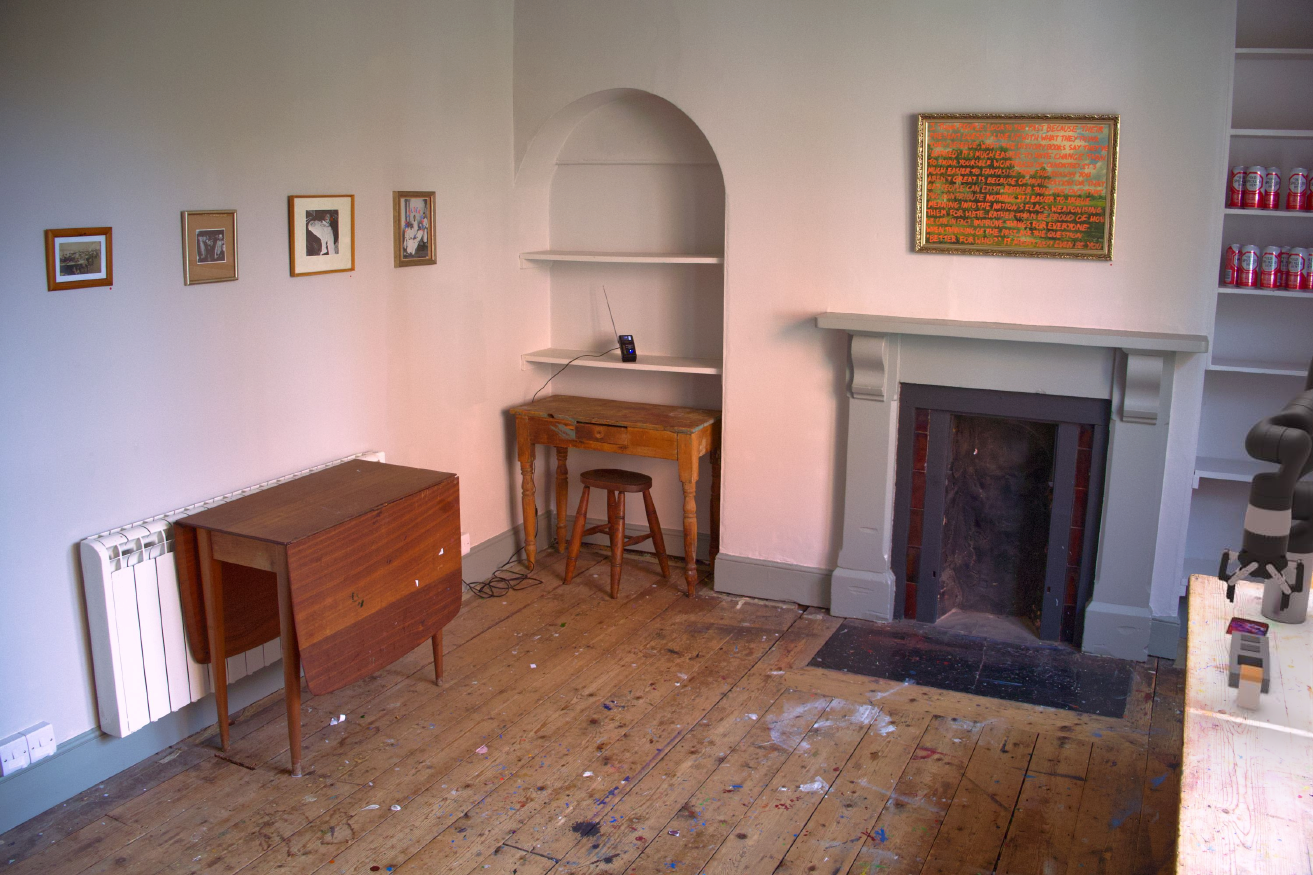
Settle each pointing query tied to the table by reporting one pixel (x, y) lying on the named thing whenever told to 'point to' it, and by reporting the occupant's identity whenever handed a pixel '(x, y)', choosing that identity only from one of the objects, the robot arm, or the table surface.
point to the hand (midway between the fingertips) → (1256, 605)
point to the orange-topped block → (1249, 687)
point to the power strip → (1249, 657)
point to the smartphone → (1247, 626)
